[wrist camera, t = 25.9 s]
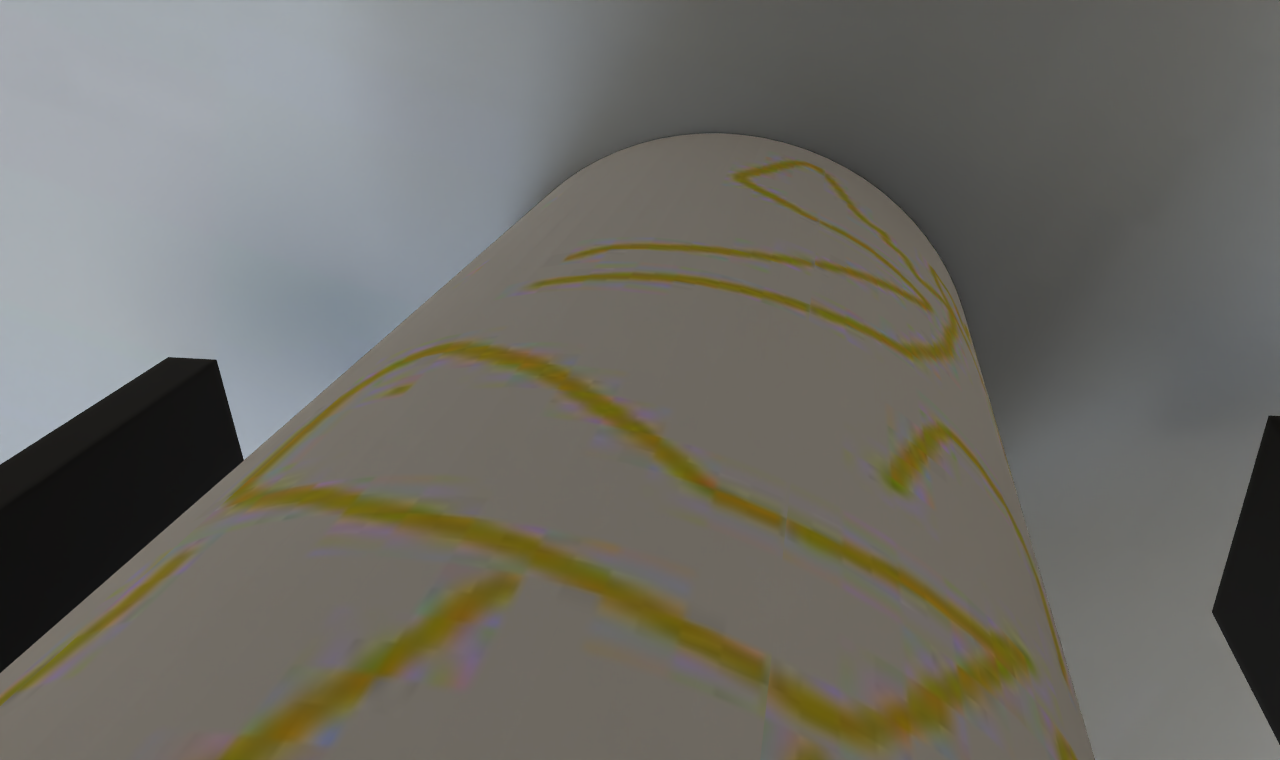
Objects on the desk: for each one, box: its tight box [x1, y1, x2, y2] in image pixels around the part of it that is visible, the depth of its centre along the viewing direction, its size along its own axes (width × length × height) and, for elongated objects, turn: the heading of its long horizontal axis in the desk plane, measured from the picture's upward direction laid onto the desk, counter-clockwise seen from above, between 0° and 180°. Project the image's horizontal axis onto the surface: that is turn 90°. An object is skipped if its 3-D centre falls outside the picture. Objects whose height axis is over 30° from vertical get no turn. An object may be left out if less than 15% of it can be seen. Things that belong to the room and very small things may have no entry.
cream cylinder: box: [0, 133, 1095, 760], centre depth 10 cm, size 8×8×12 cm
